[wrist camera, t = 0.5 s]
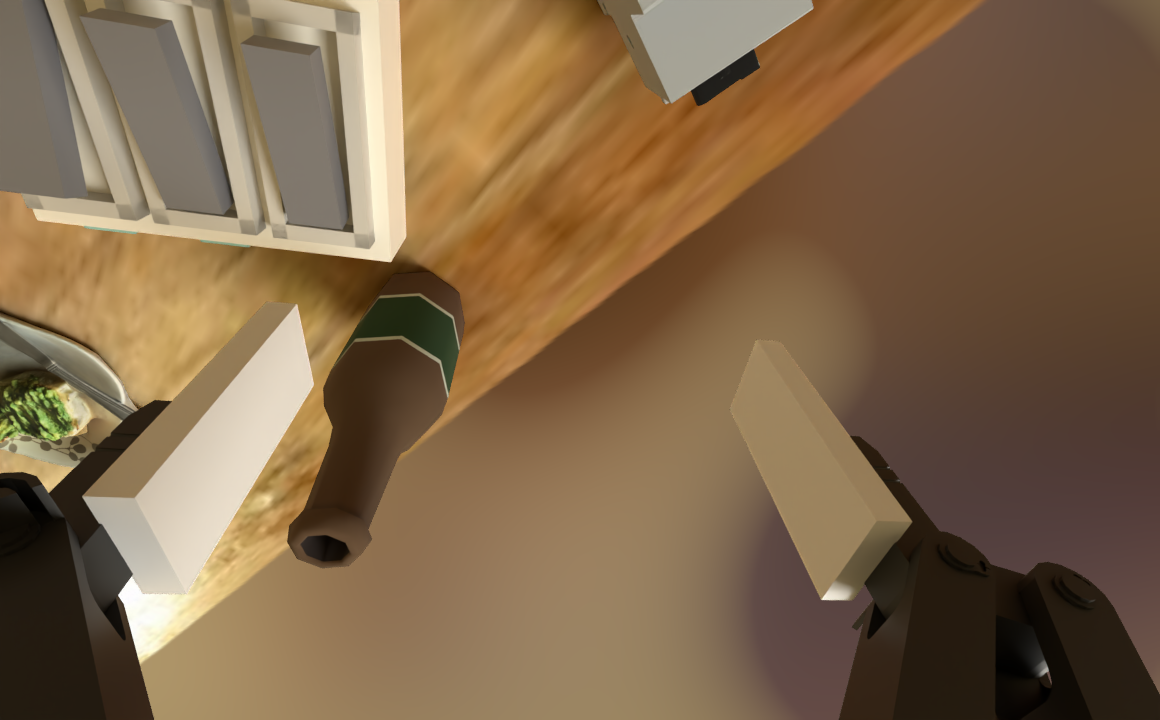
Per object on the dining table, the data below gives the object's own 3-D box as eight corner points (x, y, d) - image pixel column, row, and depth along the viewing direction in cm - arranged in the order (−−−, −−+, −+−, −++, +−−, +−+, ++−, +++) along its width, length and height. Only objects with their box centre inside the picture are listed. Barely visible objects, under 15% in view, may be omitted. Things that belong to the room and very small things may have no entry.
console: (-13, -91, 28) (-141, -116, 23) (398, -11, 31) (370, -17, 26) (95, 200, 37) (20, 231, 32) (406, 239, 40) (386, 273, 35)
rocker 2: (100, 8, 25) (79, 15, 24) (171, 20, 25) (154, 29, 24) (179, 194, 32) (166, 207, 31) (234, 201, 32) (223, 214, 31)
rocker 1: (-26, -18, 26) (-59, -29, 24) (46, -5, 26) (18, -15, 25) (25, 188, 29) (-1, 190, 28) (88, 196, 30) (65, 198, 28)
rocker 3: (253, 34, 26) (240, 43, 25) (319, 46, 26) (309, 55, 25) (297, 209, 33) (288, 222, 32) (349, 216, 33) (342, 229, 32)
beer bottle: (484, 325, 45) (441, 569, 25) (410, 358, 46) (314, 613, 27) (434, 251, 41) (336, 472, 21) (355, 289, 42) (192, 531, 22)
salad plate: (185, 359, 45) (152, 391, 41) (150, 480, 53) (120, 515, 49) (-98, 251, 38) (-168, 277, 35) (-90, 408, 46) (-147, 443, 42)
